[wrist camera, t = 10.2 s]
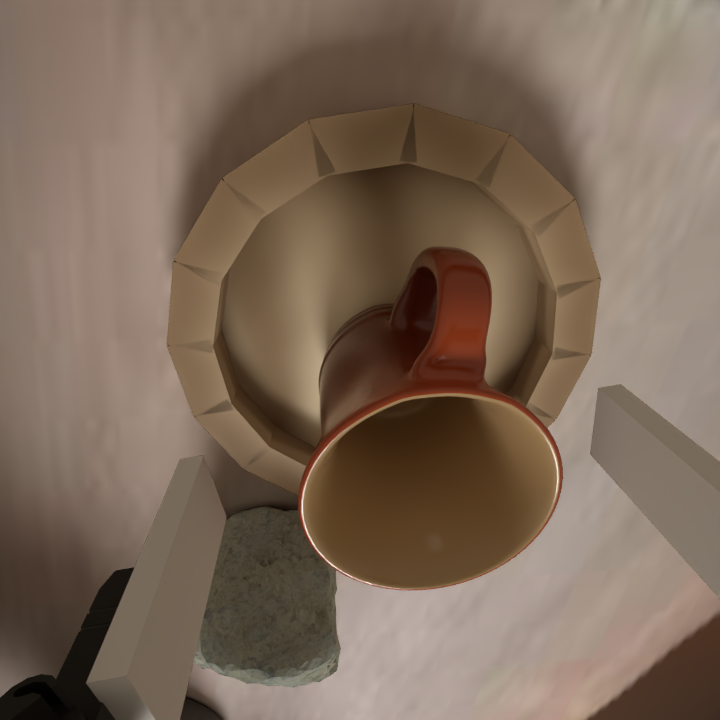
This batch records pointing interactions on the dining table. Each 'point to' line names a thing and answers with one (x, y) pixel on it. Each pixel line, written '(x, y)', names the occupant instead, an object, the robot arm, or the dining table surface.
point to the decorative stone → (269, 604)
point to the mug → (424, 441)
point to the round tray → (369, 270)
